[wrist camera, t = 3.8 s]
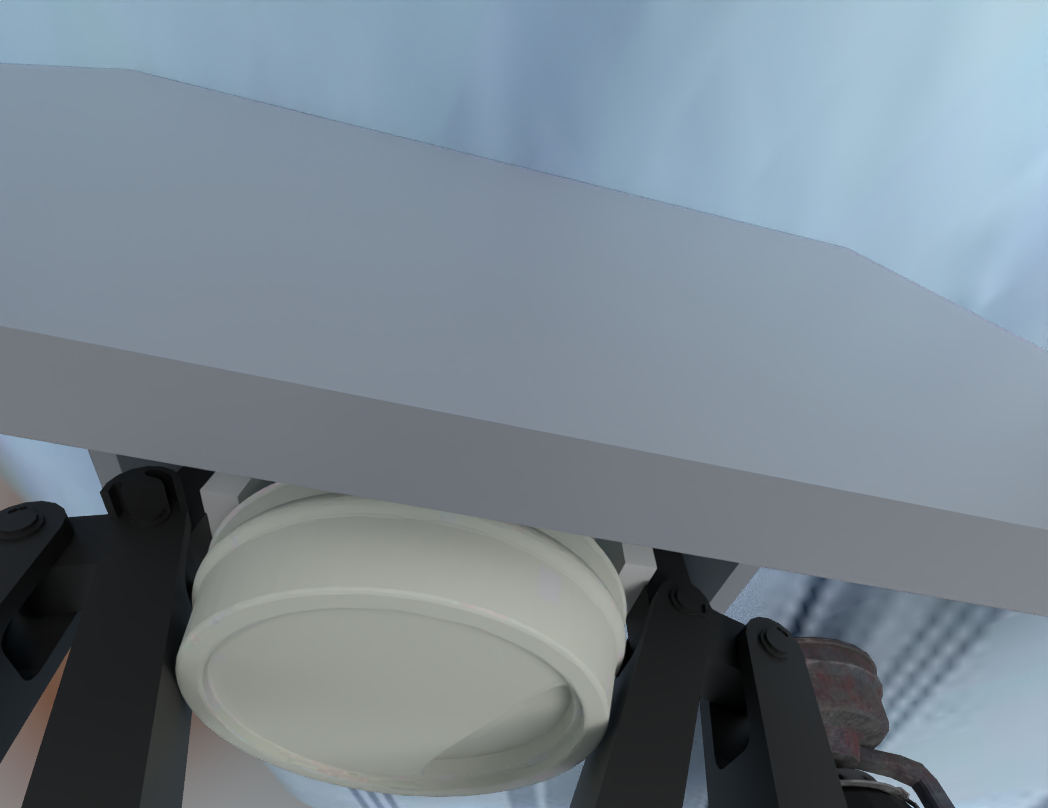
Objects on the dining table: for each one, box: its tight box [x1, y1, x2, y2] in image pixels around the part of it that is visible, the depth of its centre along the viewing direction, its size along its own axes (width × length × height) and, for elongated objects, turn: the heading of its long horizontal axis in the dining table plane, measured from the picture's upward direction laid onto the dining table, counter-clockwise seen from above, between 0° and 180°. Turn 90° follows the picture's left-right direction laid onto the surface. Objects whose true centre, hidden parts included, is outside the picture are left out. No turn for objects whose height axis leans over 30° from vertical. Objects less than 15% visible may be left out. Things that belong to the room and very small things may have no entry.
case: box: [0, 63, 1048, 617], centre depth 13 cm, size 15×22×13 cm, turn 78°
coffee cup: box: [175, 482, 627, 797], centre depth 13 cm, size 8×8×12 cm
